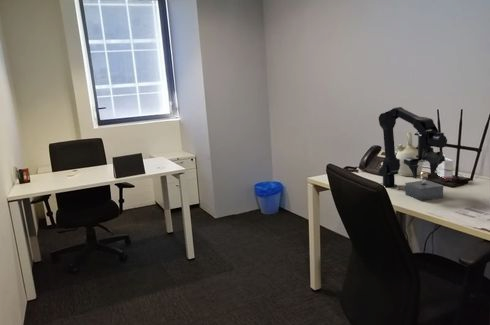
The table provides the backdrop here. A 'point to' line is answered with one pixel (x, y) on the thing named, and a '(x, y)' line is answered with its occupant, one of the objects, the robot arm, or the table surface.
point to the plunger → (424, 177)
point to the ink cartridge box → (445, 169)
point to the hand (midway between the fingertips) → (424, 177)
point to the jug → (406, 153)
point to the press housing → (424, 190)
